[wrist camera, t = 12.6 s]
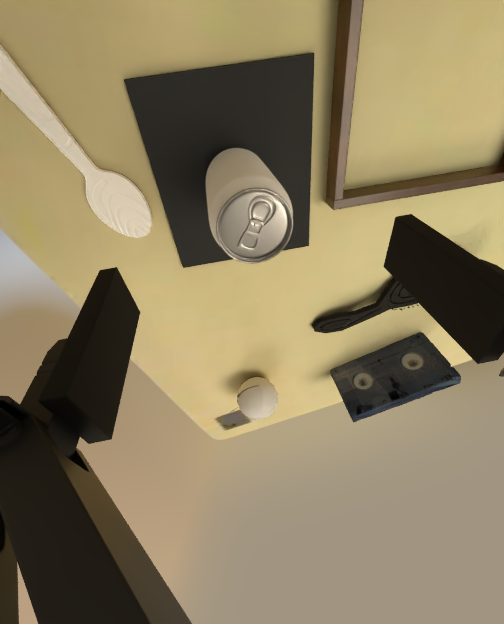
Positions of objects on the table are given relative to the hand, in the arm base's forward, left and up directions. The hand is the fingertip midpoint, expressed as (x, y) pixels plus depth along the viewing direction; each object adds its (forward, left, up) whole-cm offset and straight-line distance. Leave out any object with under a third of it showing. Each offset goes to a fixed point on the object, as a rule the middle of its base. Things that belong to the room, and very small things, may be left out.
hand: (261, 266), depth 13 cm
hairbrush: (+21, +22, -20) cm, 36 cm away
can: (+1, +1, -19) cm, 19 cm away
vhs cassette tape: (+36, +23, -20) cm, 47 cm away
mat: (+1, +1, -20) cm, 20 cm away
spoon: (-3, -14, -20) cm, 24 cm away
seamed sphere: (+37, -2, -20) cm, 42 cm away
